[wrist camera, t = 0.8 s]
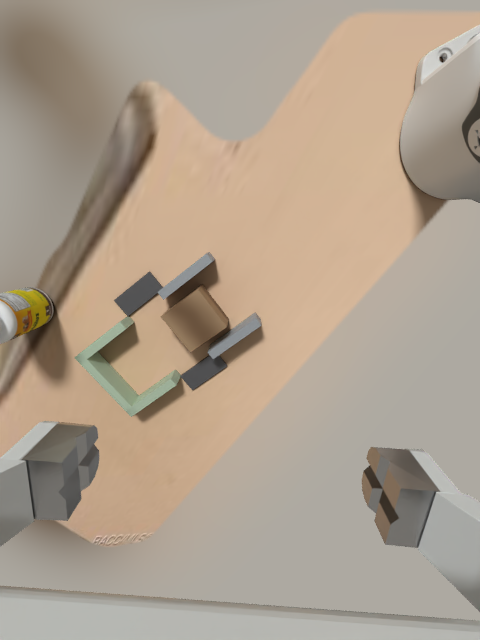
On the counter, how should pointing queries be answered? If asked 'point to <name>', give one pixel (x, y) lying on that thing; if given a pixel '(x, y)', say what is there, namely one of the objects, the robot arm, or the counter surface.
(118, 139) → the counter surface
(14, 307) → the supplement bottle
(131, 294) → the trap channel
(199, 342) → the walnut block
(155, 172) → the counter surface
